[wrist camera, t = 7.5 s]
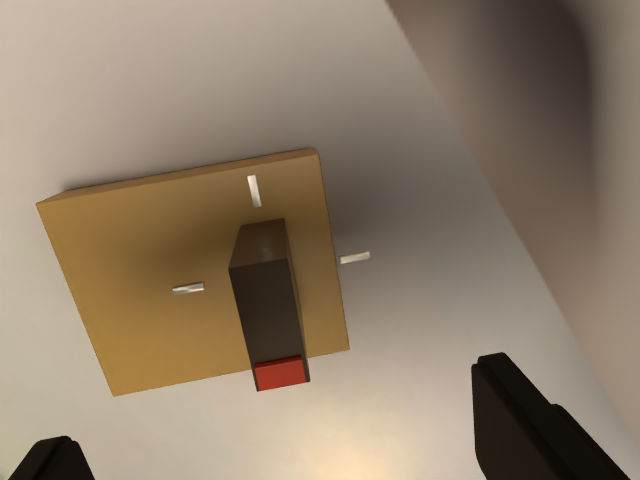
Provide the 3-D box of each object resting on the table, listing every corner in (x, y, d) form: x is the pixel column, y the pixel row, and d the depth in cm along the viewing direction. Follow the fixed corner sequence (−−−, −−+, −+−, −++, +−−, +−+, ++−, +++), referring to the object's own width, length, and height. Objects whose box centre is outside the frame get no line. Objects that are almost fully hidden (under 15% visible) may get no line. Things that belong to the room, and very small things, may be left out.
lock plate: (345, 141, 20) (356, 147, 17) (370, 319, 23) (381, 345, 21) (63, 191, 19) (32, 204, 17) (129, 366, 23) (111, 399, 20)
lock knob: (239, 225, 18) (226, 271, 13) (284, 217, 18) (288, 260, 13) (261, 323, 20) (256, 396, 15) (302, 315, 20) (311, 386, 15)
